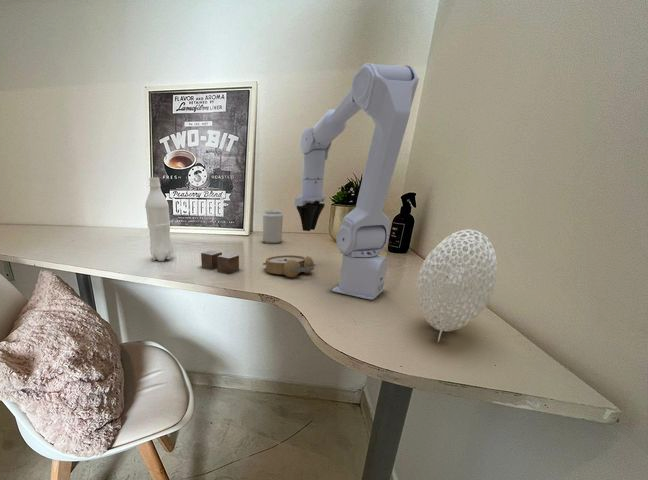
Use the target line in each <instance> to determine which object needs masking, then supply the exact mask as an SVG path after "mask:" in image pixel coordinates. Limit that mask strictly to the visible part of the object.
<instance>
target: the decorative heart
mask: <svg viewBox="0 0 648 480" xmlns="http://www.w3.org/2000/svg"><path fill="white" fill-rule="evenodd" d="M466 257H467V259H466ZM497 266H498V260H497V256H496V250H495V247H494V245H493V243H492V242H491V240H490V239H489V238H488V236H487V235H485V234H484V233H482V232H480V231H479V230H476V229H471V228H470V229H469V228H468V229H461V230H459V231H455V232H452V233H451V234H449V235H448V236H447V237H445V238H443V240H441V241H440V243H438V244H437V246H435V248H433V249H432V250H431V251H430V252H429V253H428V255H427V256H426V257H425V259H424V260H423V262H422V264H421V266H420V269H419V271H418V274H417V278H416V285H415V292H416V293H415V296H416V302H417V306H418V308H419V312H420V313H421V315H422V317H423V318H424V320H425V321H426V322H427V323H428V324H429V326H431V327H432V328H434V329H435V330H436V331H439V333H438V339H437V343H439V342H440V340H441V336H442V333H443V332H452V331H456V330H459V329H461V328H464V327H466V326H467V325H468V324H470V323H471V322H473V321H474V320H475V319H476V318H477V317H479V315H480V314H481V313H482V312H483V311H484V309H485V308H486V306H487V305H488V304H489V301H490V300H491V298H492V295H493V293H494V291H495V286H496V281H497V274H498V273H497V272H498V267H497ZM453 267H454V268H453ZM448 271H449V272H448ZM442 276H443V278H442ZM446 277H447V279H446ZM441 278H442V279H441ZM467 281H468V283H467ZM475 284H476V285H475ZM465 304H466V305H465ZM441 308H442V310H441Z"/></svg>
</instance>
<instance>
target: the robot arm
mask: <svg viewBox="0 0 648 480" xmlns="http://www.w3.org/2000/svg"><path fill="white" fill-rule="evenodd" d="M419 81H420V78H419V77H418V75H417V73H416V70H415V69H414V67H413V66H411V65H408V64H407V65H393V64H378V63H377V64H376V63H375V64H374V63H372V62H366V63H364V64H363V65H362V66H361V67H360V68H359V69H358V70H357V73H356V74H355V75H354V76H353V78H352V81H351V86H350V90H349V91H348V93H347V94H346V96H345V97H344V98H343V99H342V101H341V102H340V103H339V105H338V106H337V107H336V108H332V109H328V110H326V111H325V114H324V115H322V117H321V118H320V119H319V120H318V122H317V123H316V124H315V125H314V126H313V127H306V128H305V129H304V130H303V132H302V133H301V135H300V141H299V147H300V151H301V153H302V154H303V158H302V159H303V160H302V172H301V173H302V174H301V190H300V195H297V197H295V198H294V206H295V207H296V210H297V212H298V213H299V214H298V215H299V217H300V222H301V223H300V224H301V227H302V231H303V232H310V231H314V230H315V229H316V226H317V224H318V220H319V218H320V215H321V213H322V211H323V210H324V208H325V207H326V204H325V202H326V200H327V194H323V191H324V190H323V188H324V180H325V168H326V167H325V166H326V161H327V160H328V158H329V152H330V149H331V147H332V143H333V141H334V140H335V139H336V138H338V137H339V136H340V135H341V134H342V133H343V132H344V131H345V129H346V127H347V122H348V121H349V120H350V119H351V118H352V117H354V116H355V115H356V114H357V113H358V112H360V111H361V110H362V111H363V112H364V113H365V114H366V115H367V116H369V117H371V119H372V121H373V123H374V129H373V134H372V137H371V141H370V146H369V150H368V155H367V158H366V162H365V168H364V170H363V175H362V179H361V183H360V187H359V192H358V195H357V199H356V204H355V207H354V208H353V209H352V210H351V211H349V212H348V213H347V214H346V215H345V216H343V219H342V223H341V225H340V227H339V228H338V230H337V232H336V237H335V243H336V246H337V249H338V250H339V253H340V254H342V258H341V266H340V274H339V282H338V285H337V286H335V287H333V288H332V289H331V292H333V293H338V294H342V295H346V296H352V297H357V298H361V299H364V300H365V299H366V300H370V301H373V300H374V299H376V298H377V297H378V296H379V295H381V294H382V293H383V292H384V291H385V288H384V287H385V280H386V275H387V269H388V258H386V257H384V256H380V255H381V251H382V250H384V249H385V248H386V247H387V244H388V242H389V237H390V234H389V231H390V224H391V220H390V218H389V217H388V216H387V215H386V214H385V213H384V212H383V210H384V206H385V203H386V201H387V196H388V193H389V189H390V185H391V182H392V178H393V175H394V172H395V168H396V165H397V161H398V157H399V155H400V150H401V147H402V144H403V140H404V137H405V134H406V130H407V127H408V123H409V120H410V114H411V109H412V105H413V103H414V98H415V94H416V92H417V88H418V85H419Z"/></svg>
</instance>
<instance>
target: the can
mask: <svg viewBox="0 0 648 480" xmlns="http://www.w3.org/2000/svg"><path fill="white" fill-rule="evenodd" d="M283 218H284V214H283V213H282V210H279V209H270V210H269V209H267V210H264V214H263V215H262V219H263V220H262V241H263V242H264V243H265V244H279V243H281V241H282V240H283V221H284V220H283Z"/></svg>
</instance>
